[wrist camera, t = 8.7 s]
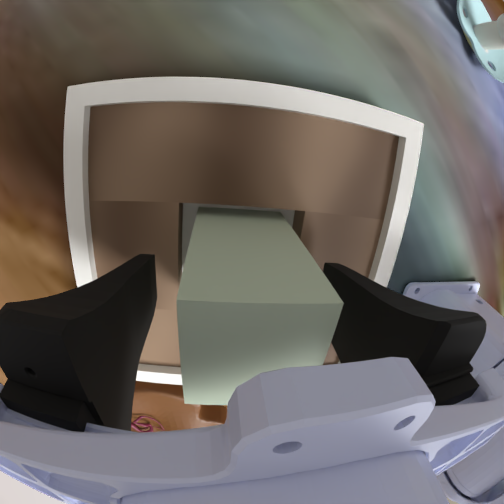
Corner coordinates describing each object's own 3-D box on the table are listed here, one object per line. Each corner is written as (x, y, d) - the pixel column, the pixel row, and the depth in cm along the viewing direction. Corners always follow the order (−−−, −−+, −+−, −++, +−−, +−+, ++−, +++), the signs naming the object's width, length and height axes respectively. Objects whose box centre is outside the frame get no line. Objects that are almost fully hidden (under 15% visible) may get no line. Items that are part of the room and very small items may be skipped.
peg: (280, 211, 14) (343, 302, 7) (270, 282, 16) (308, 401, 8) (198, 206, 13) (176, 299, 6) (196, 279, 15) (184, 403, 8)
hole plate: (382, 134, 13) (399, 136, 11) (330, 348, 18) (337, 364, 17) (104, 108, 11) (90, 106, 9) (121, 343, 16) (115, 360, 15)
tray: (391, 121, 13) (423, 123, 11) (335, 350, 20) (349, 378, 17) (94, 92, 11) (67, 86, 8) (113, 345, 17) (102, 375, 15)
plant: (98, 457, 26) (88, 523, 16) (19, 359, 18) (-26, 448, 8) (244, 463, 28) (254, 539, 17) (224, 365, 19) (236, 511, 9)
